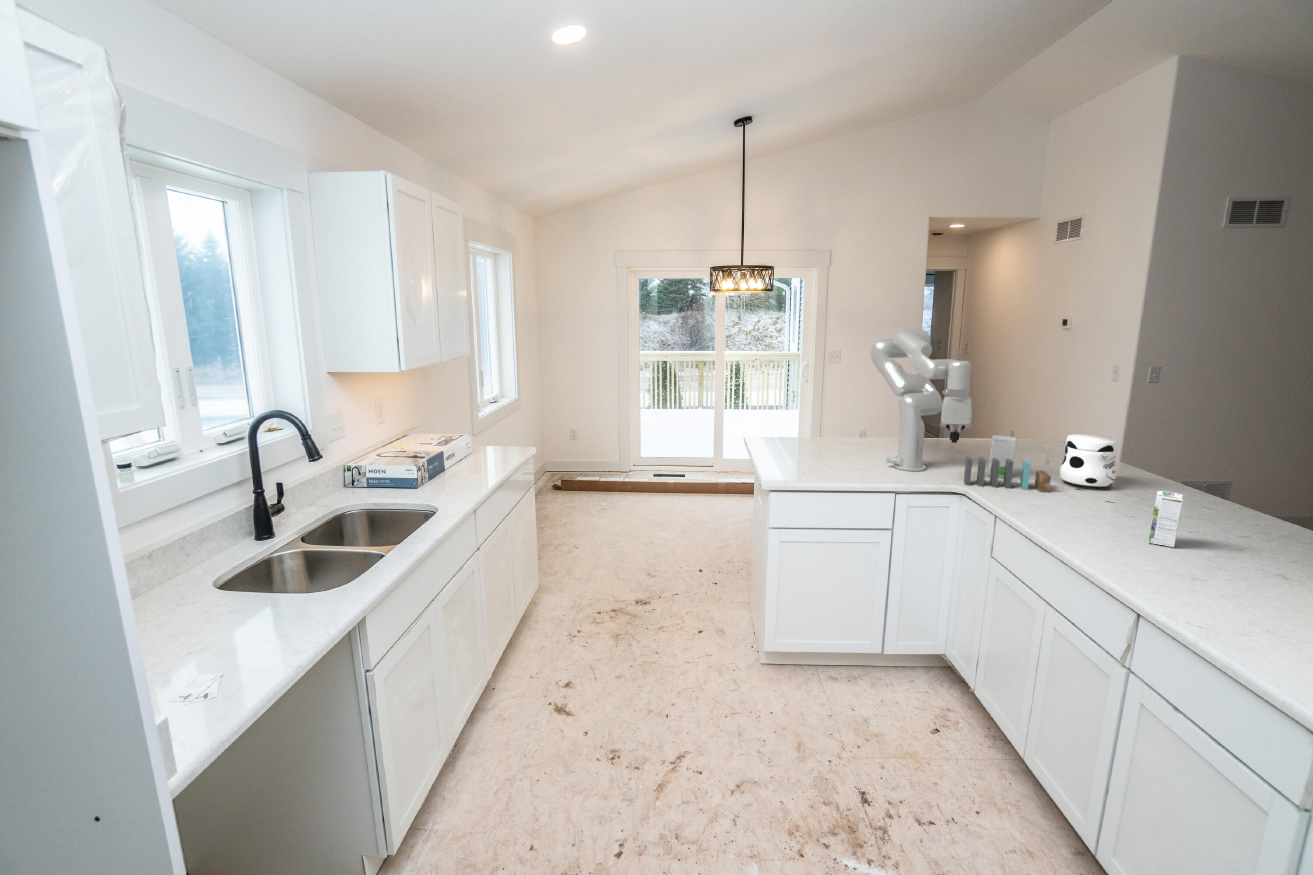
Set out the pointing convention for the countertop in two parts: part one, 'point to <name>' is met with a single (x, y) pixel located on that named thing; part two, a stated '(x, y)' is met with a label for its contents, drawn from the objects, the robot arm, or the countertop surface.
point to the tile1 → (967, 470)
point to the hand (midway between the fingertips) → (954, 442)
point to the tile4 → (1008, 473)
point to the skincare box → (1002, 452)
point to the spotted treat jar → (1089, 461)
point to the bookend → (1042, 481)
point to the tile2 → (981, 471)
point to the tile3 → (994, 472)
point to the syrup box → (1166, 518)
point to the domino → (1025, 474)
